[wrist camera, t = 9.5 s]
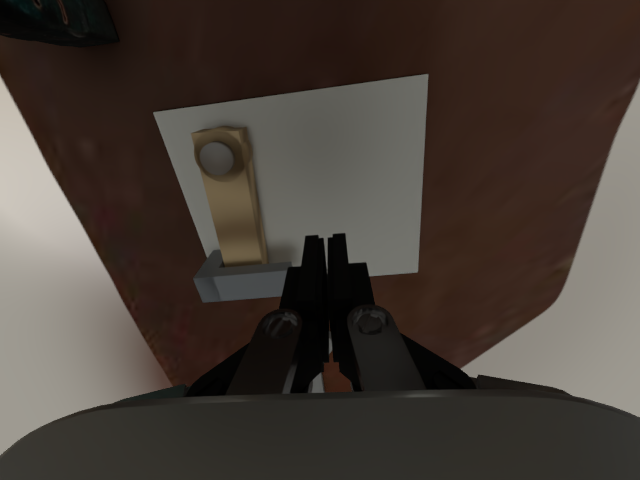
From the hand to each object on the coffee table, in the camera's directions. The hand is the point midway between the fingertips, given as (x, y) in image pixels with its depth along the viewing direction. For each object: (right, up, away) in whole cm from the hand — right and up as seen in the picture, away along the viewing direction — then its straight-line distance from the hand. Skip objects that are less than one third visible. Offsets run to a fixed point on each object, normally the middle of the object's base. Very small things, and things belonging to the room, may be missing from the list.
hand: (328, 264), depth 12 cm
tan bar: (-8, +4, +17) cm, 20 cm away
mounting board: (-2, +5, +18) cm, 19 cm away
